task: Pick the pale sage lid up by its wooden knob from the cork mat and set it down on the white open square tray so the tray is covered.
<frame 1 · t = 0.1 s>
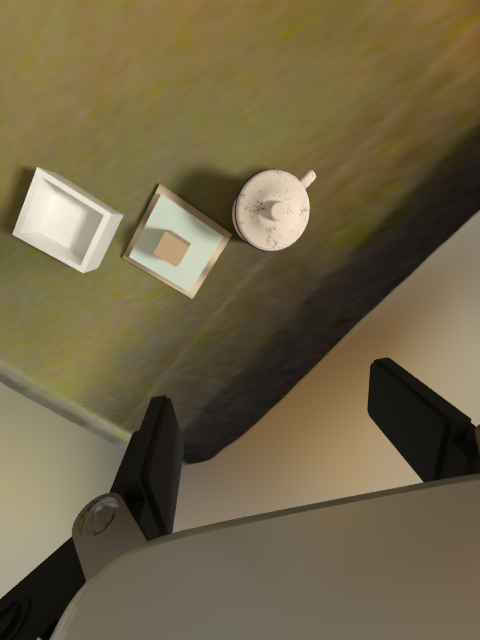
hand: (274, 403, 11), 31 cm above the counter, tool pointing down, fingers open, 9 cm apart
white open square tray: (80, 224, 35), on the counter
lid: (177, 246, 37), point 1 cm above the counter, touching mat
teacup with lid: (267, 208, 37), on the counter
mat: (178, 245, 38), on the counter
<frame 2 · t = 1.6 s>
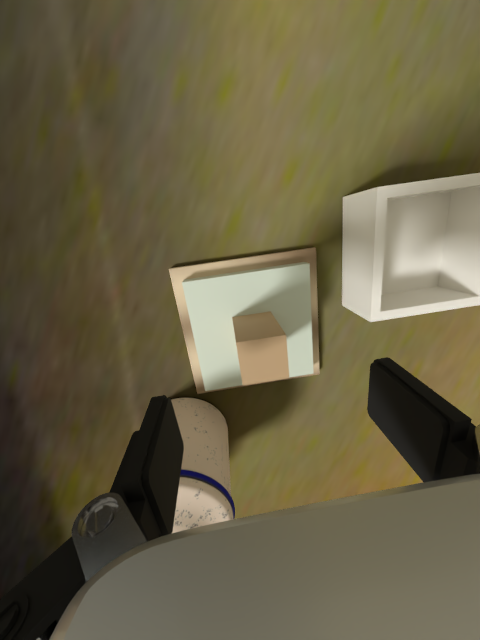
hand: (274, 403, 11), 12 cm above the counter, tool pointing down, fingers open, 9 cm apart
white open square tray: (393, 247, 21), on the counter
lid: (251, 327, 22), point 1 cm above the counter, touching mat
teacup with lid: (185, 439, 26), on the counter
mat: (250, 324, 22), on the counter
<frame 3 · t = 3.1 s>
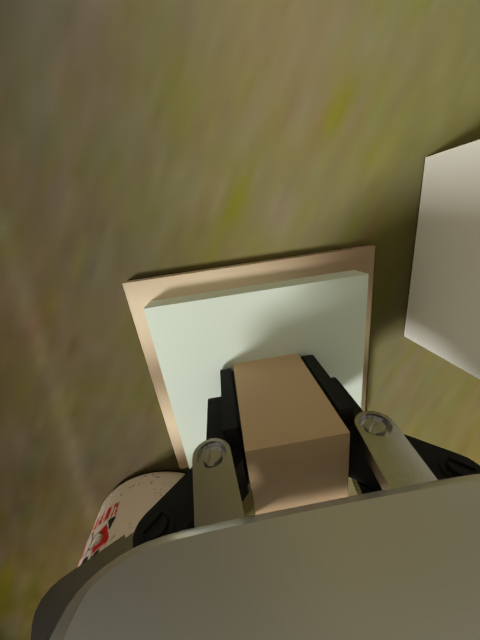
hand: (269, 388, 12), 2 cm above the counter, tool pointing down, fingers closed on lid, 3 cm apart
lid: (264, 372, 14), point 1 cm above the counter, touching gripper, mat
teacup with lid: (165, 521, 18), on the counter
mat: (262, 367, 14), on the counter
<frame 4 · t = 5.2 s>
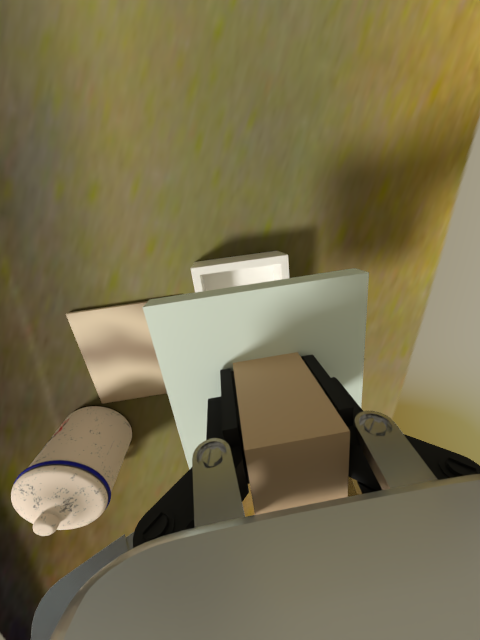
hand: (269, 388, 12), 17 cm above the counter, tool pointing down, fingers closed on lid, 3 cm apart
white open square tray: (240, 296, 28), on the counter
lid: (263, 371, 14), point 16 cm above the counter, touching gripper
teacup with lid: (100, 437, 34), on the counter
mat: (138, 351, 30), on the counter
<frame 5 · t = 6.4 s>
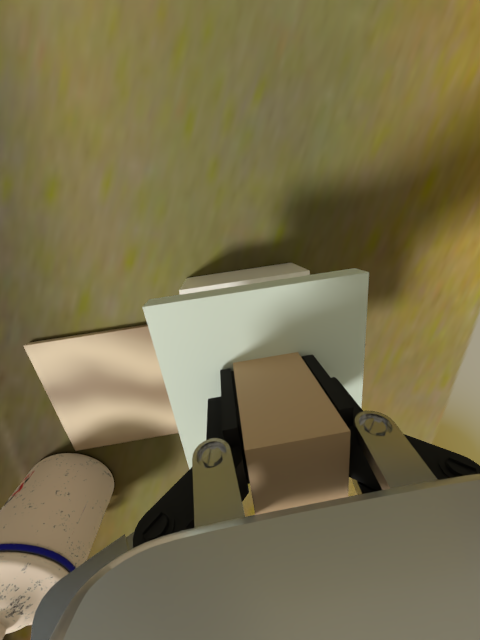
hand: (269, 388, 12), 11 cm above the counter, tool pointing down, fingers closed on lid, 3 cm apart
white open square tray: (245, 319, 23), on the counter
lid: (263, 371, 14), point 9 cm above the counter, touching gripper
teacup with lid: (76, 488, 28), on the counter
mat: (119, 388, 24), on the counter
when the fingers open (7 cm above the counter, at t = 7.3 s): lid drops 1 cm, resting on white open square tray.
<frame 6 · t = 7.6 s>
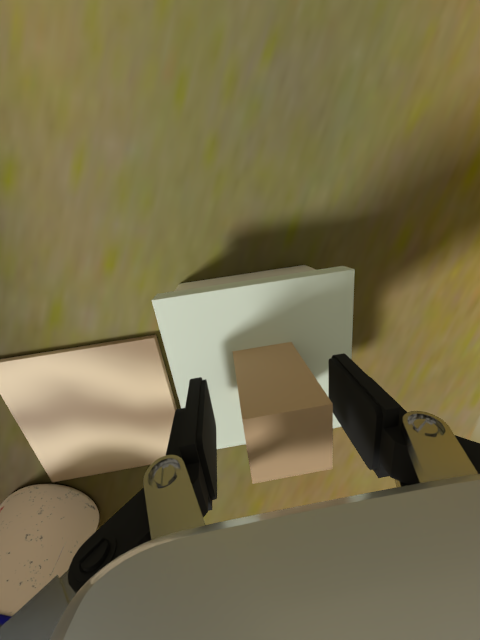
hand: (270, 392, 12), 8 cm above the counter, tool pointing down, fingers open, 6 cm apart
white open square tray: (250, 331, 19), on the counter
lid: (261, 361, 15), point 4 cm above the counter, touching white open square tray
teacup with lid: (56, 520, 24), on the counter
mat: (101, 411, 20), on the counter
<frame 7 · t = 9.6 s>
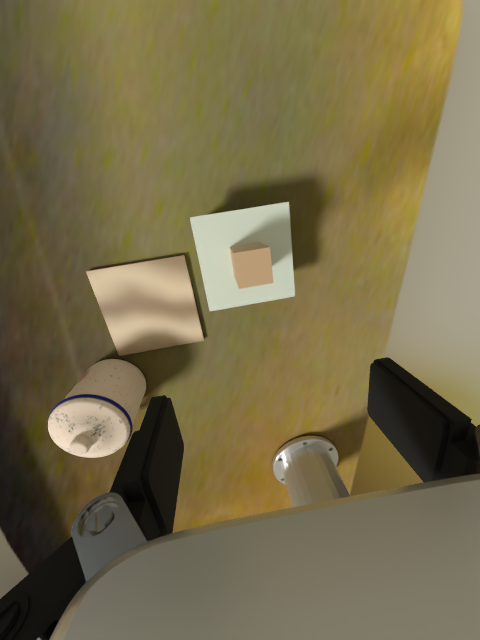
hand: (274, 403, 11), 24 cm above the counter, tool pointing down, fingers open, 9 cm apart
lid: (245, 258, 28), point 4 cm above the counter, touching white open square tray
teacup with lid: (117, 389, 38), on the counter
mat: (150, 307, 33), on the counter
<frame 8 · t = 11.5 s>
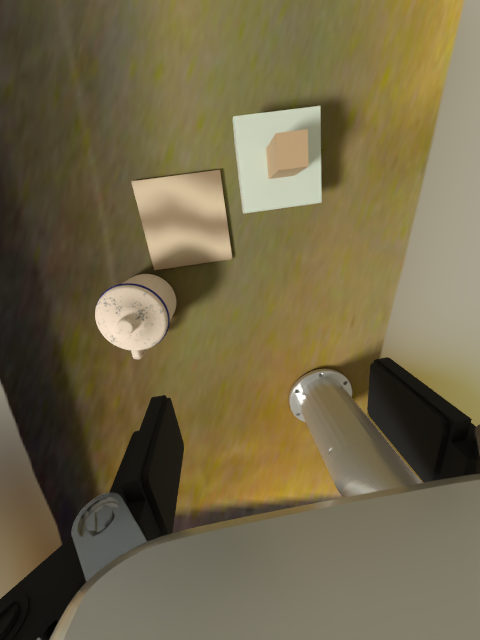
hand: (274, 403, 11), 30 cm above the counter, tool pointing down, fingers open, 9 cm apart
lid: (278, 164, 31), point 4 cm above the counter, touching white open square tray
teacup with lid: (149, 308, 40), on the counter
mat: (185, 222, 36), on the counter
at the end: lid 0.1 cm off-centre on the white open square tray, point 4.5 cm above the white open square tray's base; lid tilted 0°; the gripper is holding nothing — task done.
